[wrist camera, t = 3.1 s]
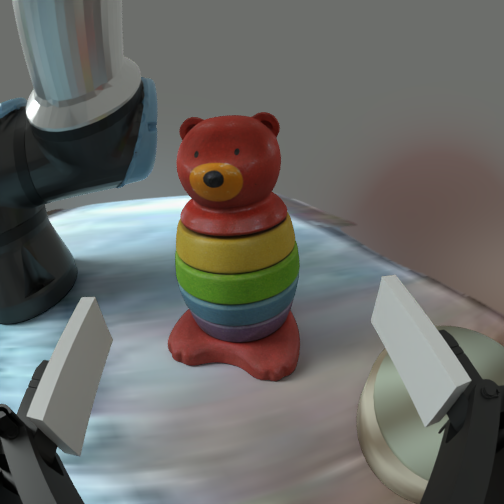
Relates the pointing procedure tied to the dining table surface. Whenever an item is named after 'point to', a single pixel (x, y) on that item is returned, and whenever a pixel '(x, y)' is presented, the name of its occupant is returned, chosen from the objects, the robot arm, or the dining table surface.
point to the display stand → (412, 417)
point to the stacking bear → (235, 249)
